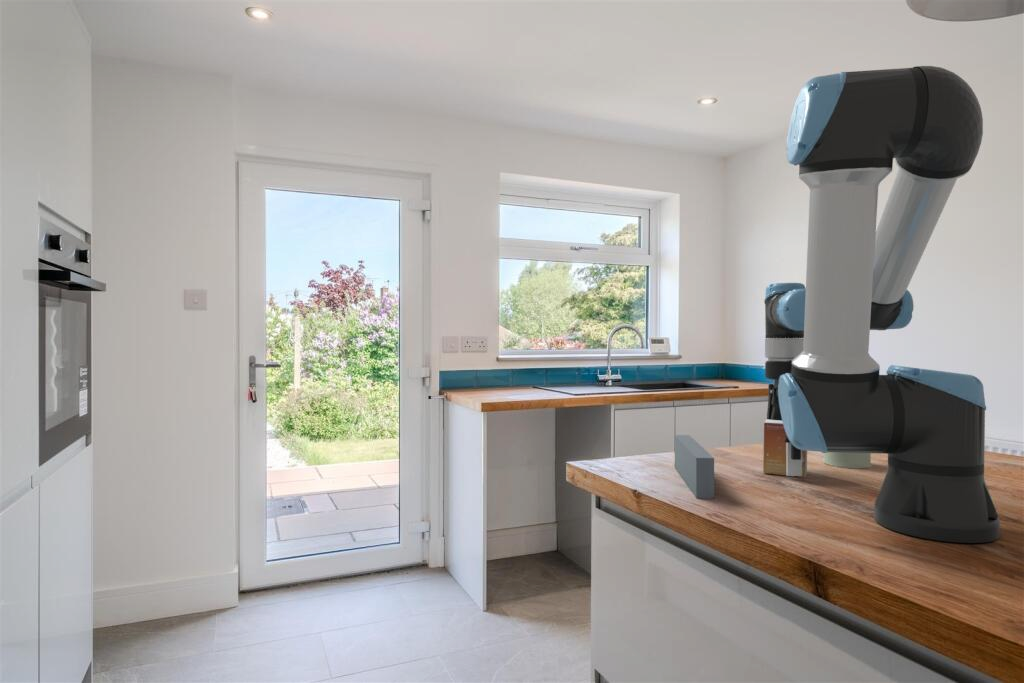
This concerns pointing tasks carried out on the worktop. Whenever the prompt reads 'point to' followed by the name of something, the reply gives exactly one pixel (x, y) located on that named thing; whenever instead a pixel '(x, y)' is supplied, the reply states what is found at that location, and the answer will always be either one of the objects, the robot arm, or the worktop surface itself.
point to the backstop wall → (694, 466)
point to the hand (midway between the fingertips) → (785, 469)
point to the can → (848, 460)
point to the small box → (777, 449)
